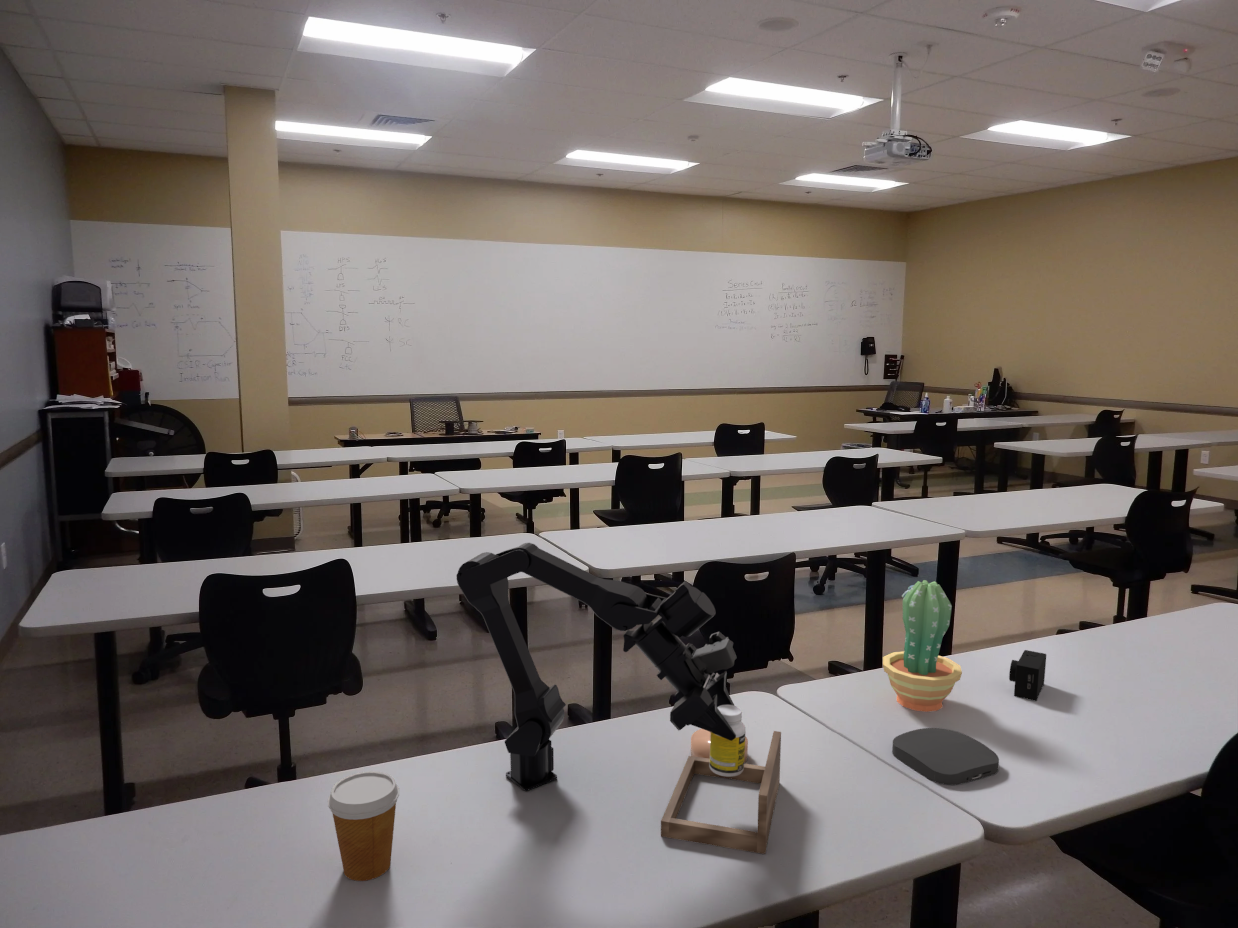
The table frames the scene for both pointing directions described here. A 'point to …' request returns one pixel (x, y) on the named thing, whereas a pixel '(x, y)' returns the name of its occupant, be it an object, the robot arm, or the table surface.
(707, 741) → the terracotta stand
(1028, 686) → the digital camera
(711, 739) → the supplement bottle
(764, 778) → the brown wooden frame
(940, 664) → the potted cactus
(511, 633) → the robot arm
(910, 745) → the media streaming box
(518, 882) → the table surface
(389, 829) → the disposable coffee cup
